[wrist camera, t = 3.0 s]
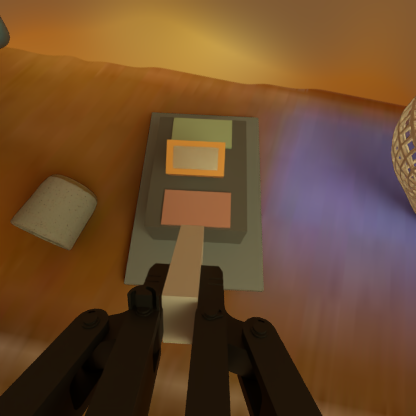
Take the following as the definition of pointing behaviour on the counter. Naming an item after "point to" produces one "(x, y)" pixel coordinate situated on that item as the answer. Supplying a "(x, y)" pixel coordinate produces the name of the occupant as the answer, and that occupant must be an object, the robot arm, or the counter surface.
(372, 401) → the counter surface
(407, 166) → the heart
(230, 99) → the counter surface
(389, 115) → the counter surface
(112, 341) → the robot arm
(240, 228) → the breaker box
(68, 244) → the ceramic mug
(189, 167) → the breaker lever
